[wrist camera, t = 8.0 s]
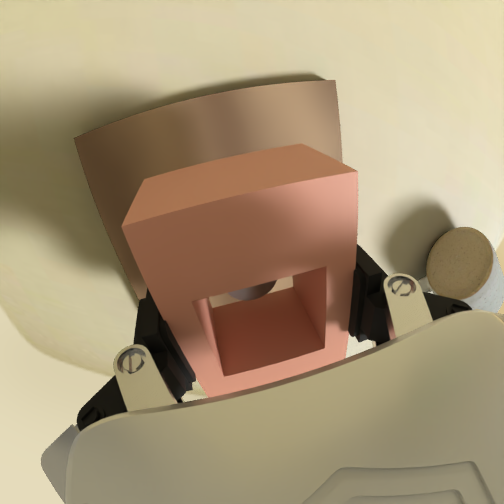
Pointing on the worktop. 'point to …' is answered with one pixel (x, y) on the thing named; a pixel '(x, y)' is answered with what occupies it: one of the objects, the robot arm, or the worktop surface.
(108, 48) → the worktop surface
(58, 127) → the worktop surface
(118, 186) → the board
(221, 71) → the worktop surface
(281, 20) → the worktop surface
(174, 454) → the robot arm
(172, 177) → the pink block with hole
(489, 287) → the ceramic mug
